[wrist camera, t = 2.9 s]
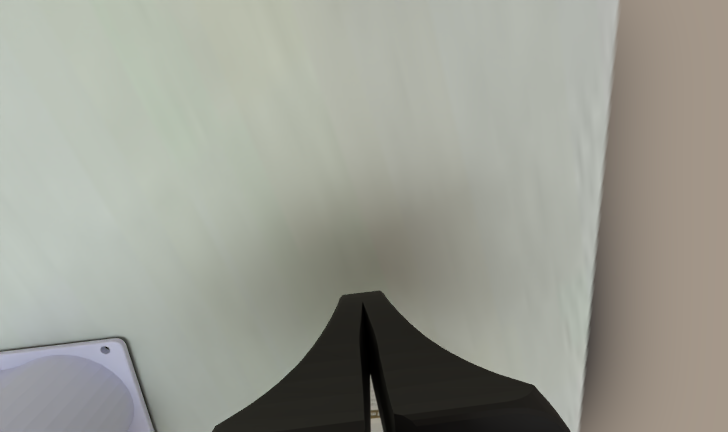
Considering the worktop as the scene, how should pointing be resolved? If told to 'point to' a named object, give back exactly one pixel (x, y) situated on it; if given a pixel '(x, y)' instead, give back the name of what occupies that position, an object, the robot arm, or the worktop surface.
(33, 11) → the worktop surface
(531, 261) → the worktop surface
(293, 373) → the robot arm
